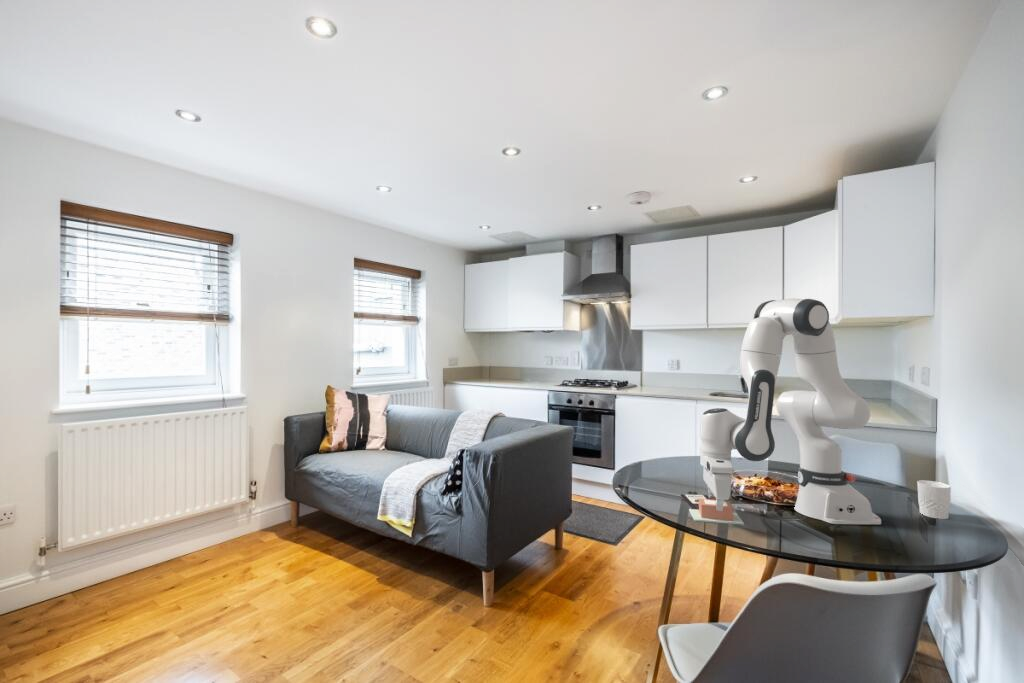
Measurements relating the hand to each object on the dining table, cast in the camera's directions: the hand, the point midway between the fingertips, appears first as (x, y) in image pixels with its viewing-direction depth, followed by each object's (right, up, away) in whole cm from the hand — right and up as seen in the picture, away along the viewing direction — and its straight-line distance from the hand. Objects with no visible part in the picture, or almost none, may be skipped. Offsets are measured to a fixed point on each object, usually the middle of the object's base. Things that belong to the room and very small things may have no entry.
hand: (715, 504), depth 142 cm
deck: (0, -3, 0) cm, 3 cm away
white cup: (+71, -5, +3) cm, 71 cm away
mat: (0, -4, 0) cm, 4 cm away
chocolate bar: (0, -5, +11) cm, 12 cm away
